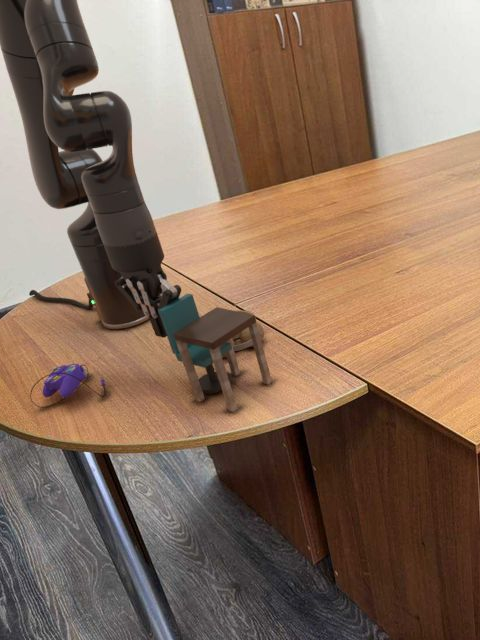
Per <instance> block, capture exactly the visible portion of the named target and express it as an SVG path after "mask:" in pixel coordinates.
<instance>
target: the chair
mask: <svg viewBox="0 0 480 640" xmlns="http://www.w3.org/2000/svg"><path fill="white" fill-rule="evenodd" d="M158 311H159V314H160V317H161V320H162V323H163V326H164V329H165V331H166V334H167V336H166V338H167V340H168V343H169V346H170V348H171V351H172V354H173V355H175V356H176V360H177V361H178V362H181V363H183V361H182V358H181V355H180V352H179V349H178V346H177V344H176V340H175V338H174V335H173V333H175V332H176V331H178V330H180V329H181V328H183V327H185V326H186V325H188V324H190V323H191V322H193V321H195V320H196V319H198V318H200V317H201V316H200V314H199V311H198V307H197V305H196V301H195V299H194V295H193V294H192V293H186V294H184V295H183V296H181V297H179V299H177V300H175V301H174V302H172V303H170V304H168V305H166V306H165V307H163V308H161V309H159V310H158ZM186 344H187V347H188V350H189V353H190V356H191V359H192V362H193V365H194V366H197V367H201V368H204V369H205V371H206V373H205V374H203V375H202V376H200V377H198V380H199V383H200V386H201V389H202V392H203V395H207V394H208V395H211V394H216V393H219V392H223V391H222V388H221V385H220V382H219V379H218V375H217V372H216V370H215V366H214V363H213V360H212V356H211V353H210V350H209V349H208V348H204V347H200V346H196V345H193V344H189V343H186ZM219 349H220V353H221V356H223V355H224V354H226V353H227V352H229V351H230V350H232V346H231V343H229V342H225V343H224V344H222V345H221V346H219ZM226 372H227V376H228V379H229V382H230V385H231V384H232V383H233V377H232V374H231V373H230V372H228V371H226Z"/></svg>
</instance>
